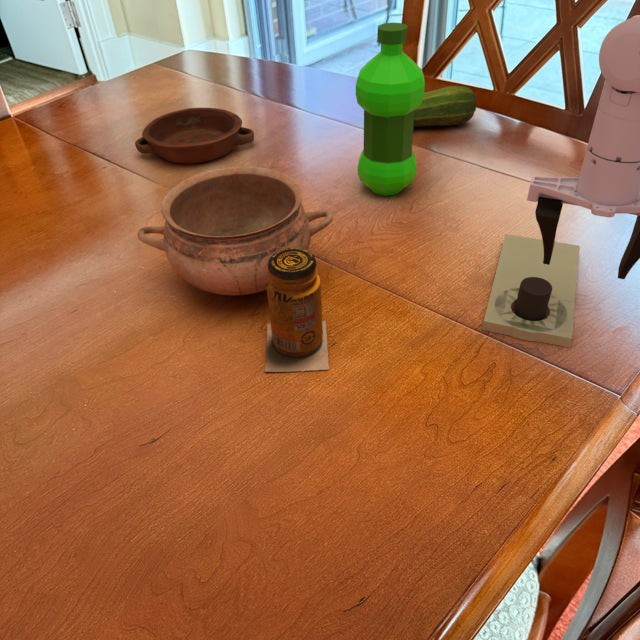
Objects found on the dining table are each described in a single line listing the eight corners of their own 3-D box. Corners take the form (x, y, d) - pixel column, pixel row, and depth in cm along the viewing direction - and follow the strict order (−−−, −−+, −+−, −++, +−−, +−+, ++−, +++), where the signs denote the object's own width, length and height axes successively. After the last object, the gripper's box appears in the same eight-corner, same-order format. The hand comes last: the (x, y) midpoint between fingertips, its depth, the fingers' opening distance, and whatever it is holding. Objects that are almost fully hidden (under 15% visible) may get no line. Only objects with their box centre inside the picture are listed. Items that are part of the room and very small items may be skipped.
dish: (140, 137, 119) (134, 112, 116) (250, 125, 122) (248, 101, 118) (135, 177, 106) (128, 150, 103) (259, 163, 109) (256, 137, 105)
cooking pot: (145, 333, 74) (119, 250, 66) (158, 248, 89) (138, 172, 81) (344, 312, 76) (343, 229, 68) (325, 232, 90) (323, 156, 82)
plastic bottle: (416, 173, 103) (428, 16, 87) (416, 204, 95) (429, 37, 79) (358, 172, 104) (359, 16, 88) (353, 203, 97) (353, 38, 80)
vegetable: (480, 81, 112) (374, 89, 112) (480, 122, 114) (376, 130, 113) (469, 87, 119) (369, 95, 119) (470, 125, 121) (371, 132, 121)
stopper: (549, 320, 73) (559, 288, 70) (529, 331, 72) (537, 299, 69) (527, 305, 76) (535, 273, 72) (507, 315, 74) (514, 283, 71)
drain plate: (569, 349, 69) (572, 340, 68) (481, 331, 72) (483, 322, 71) (577, 254, 84) (579, 245, 83) (503, 242, 86) (505, 233, 85)
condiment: (325, 322, 75) (322, 240, 67) (328, 370, 68) (325, 286, 60) (267, 324, 75) (257, 243, 67) (265, 373, 68) (253, 290, 60)
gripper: (534, 156, 56) (509, 273, 65) (707, 180, 52) (655, 302, 61) (544, 127, 61) (520, 239, 70) (703, 147, 57) (656, 264, 65)
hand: (583, 266), depth 66 cm, fingers open, 7 cm apart
